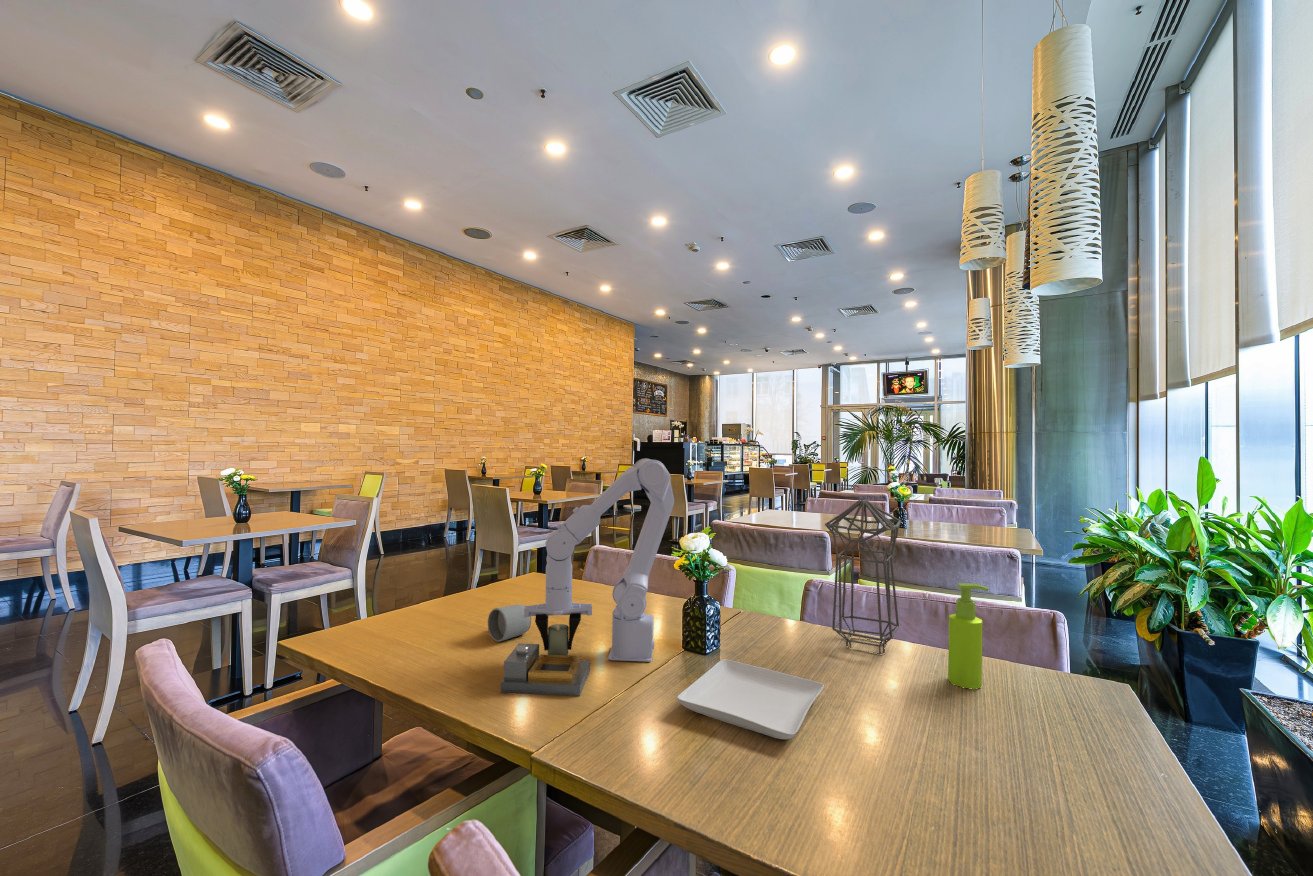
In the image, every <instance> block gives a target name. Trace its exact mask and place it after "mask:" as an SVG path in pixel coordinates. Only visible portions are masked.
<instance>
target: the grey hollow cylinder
mask: <svg viewBox="0 0 1313 876" xmlns="http://www.w3.org/2000/svg"><path fill="white" fill-rule="evenodd" d="M525 606H526V605H524V604H512V605H507V606H500V607H499V606H498V607H496V608H493V609H491V611H490V612H489V614H488V617H487V630H488V632H489V635H490V637H491V639H493V641H495V642H496V643H499V642H503V641H506V640H510V639H512V638H516V637H520V636H522V635H524V634H526V633H527V632H529V630H530V628H531V625H532V616H529V617H524V608H525Z"/></svg>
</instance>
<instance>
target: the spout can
mask: <svg viewBox="0 0 1313 876" xmlns="http://www.w3.org/2000/svg"><path fill="white" fill-rule="evenodd" d="M568 641H569V625H568V624H564V623H556V624H551V625H548V650H547V655H569V650H568Z"/></svg>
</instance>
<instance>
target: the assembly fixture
mask: <svg viewBox="0 0 1313 876" xmlns="http://www.w3.org/2000/svg"><path fill="white" fill-rule="evenodd" d="M503 662H504V663H503V679H502V680H501V681H500V693H501V694H523V695H543V696H544V695H545V696H546V695H548V696H549V695H550V696H566V697H568V696H569V697H570V696H572V697H573V696H574V697H580V696H581V695H582V692H583V689H584V686H585V684H586V681H587V679H588V677H589V673H591V660H581V655H569V654H568V655H548V654H540V644H539V643H520V642H519V643H517V645H516V646H515V647H514V648H513V650H512V651H511V652H510V654H509V655H508V656H507V657H506V659H504V661H503Z"/></svg>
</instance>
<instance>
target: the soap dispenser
mask: <svg viewBox="0 0 1313 876" xmlns="http://www.w3.org/2000/svg"><path fill="white" fill-rule="evenodd" d="M956 586H957V588H959V589H960V597H959V598H957V599H956V603H955V605H956V606H955V613H952V614H949V615H948V658H947V661H948V666H947V680H948V679H949V680H948V682H949V681H950V682H951V683H950V682H949V683H950V684H952V683H953V684H955V685H954V686H956V685H957V686H956V687H958V686H961V687H964V688H963V689H965V688H972V689H971V690H977V689H976V688H980V687H981V686H982V682H983V681H982V680H983V624H984V623H983V620H982V618H979V617H977V616H976V601H975V600H974V599H972V596H971V595H972V590H981V591H985V592H989V591H990V588H988V587H986V586H985V585H981V584H978V583H969V582H968V583H964V582H963V583H962V582H961V583H959V582H958V583H956ZM953 684H952V685H953ZM961 687H960V688H961ZM982 687H983V686H982ZM982 687H981V688H982ZM981 688H980V689H981Z"/></svg>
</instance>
